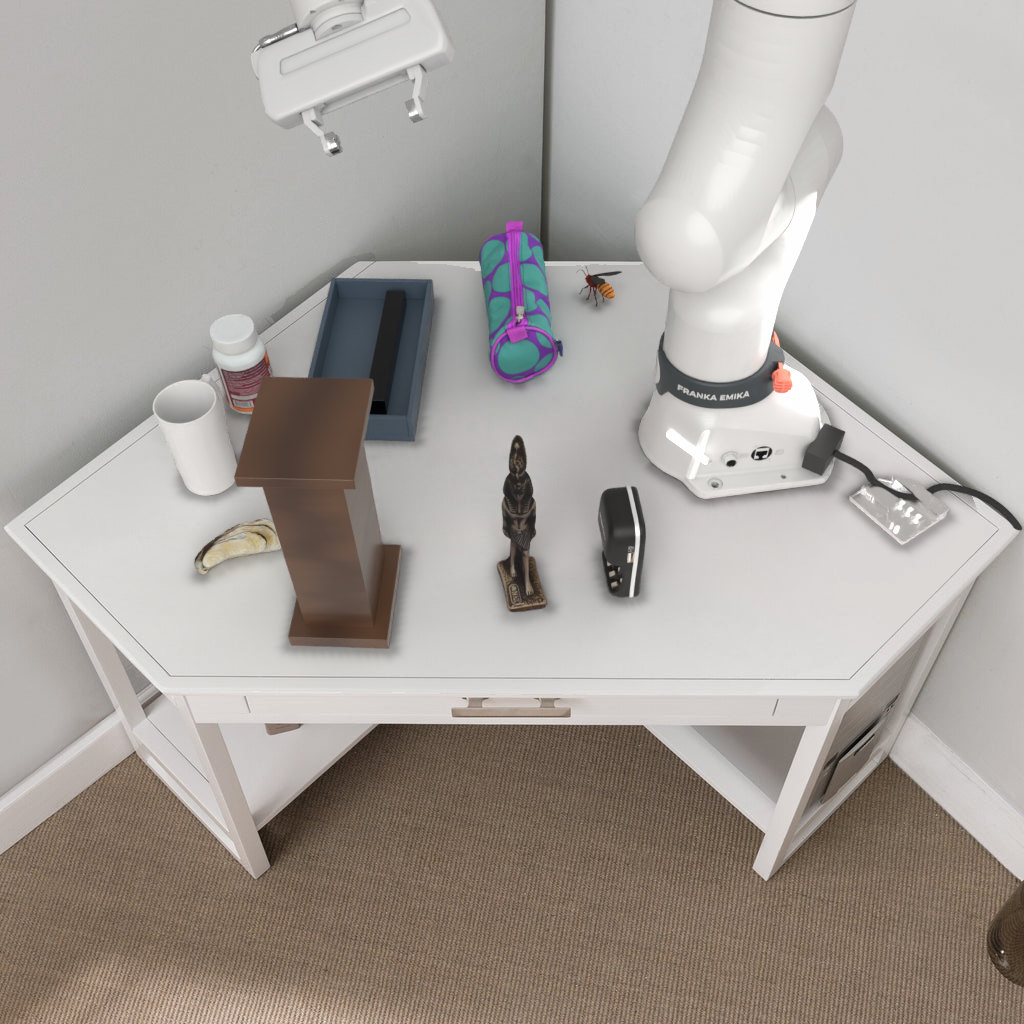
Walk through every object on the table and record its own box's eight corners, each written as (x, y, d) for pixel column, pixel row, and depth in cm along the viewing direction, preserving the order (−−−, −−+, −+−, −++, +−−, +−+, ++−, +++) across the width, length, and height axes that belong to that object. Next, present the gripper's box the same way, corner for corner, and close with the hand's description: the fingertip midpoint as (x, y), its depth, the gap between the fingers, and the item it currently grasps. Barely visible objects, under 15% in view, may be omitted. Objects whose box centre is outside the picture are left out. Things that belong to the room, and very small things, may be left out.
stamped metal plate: (946, 517, 117) (950, 508, 116) (901, 546, 115) (905, 537, 113) (892, 472, 121) (895, 463, 120) (848, 499, 119) (851, 491, 118)
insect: (595, 291, 143) (590, 257, 140) (626, 305, 139) (623, 271, 136) (573, 303, 142) (569, 270, 138) (605, 318, 138) (601, 284, 134)
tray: (434, 301, 141) (432, 279, 138) (414, 441, 126) (411, 419, 123) (335, 300, 142) (331, 277, 139) (303, 439, 126) (297, 416, 123)
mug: (227, 502, 120) (201, 428, 111) (172, 493, 121) (141, 419, 112) (259, 438, 126) (237, 363, 117) (206, 430, 127) (180, 355, 118)
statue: (508, 618, 110) (503, 493, 94) (494, 564, 114) (486, 436, 99) (548, 610, 110) (549, 484, 95) (532, 557, 115) (530, 428, 99)
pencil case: (562, 385, 131) (564, 325, 124) (490, 391, 131) (487, 331, 123) (544, 277, 144) (544, 217, 137) (478, 282, 144) (475, 222, 136)
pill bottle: (288, 398, 131) (270, 327, 122) (246, 424, 128) (225, 354, 119) (258, 373, 133) (238, 303, 125) (217, 398, 131) (194, 328, 122)
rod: (406, 305, 140) (405, 290, 138) (386, 414, 127) (384, 400, 125) (388, 304, 140) (386, 290, 138) (367, 414, 127) (364, 400, 126)
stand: (402, 553, 115) (372, 378, 95) (388, 648, 108) (353, 480, 87) (310, 551, 116) (262, 376, 96) (290, 645, 108) (233, 477, 88)
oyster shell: (235, 589, 118) (298, 529, 116) (228, 602, 114) (293, 540, 113) (193, 553, 116) (257, 491, 115) (186, 565, 113) (251, 502, 111)
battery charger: (593, 549, 115) (597, 480, 106) (628, 546, 115) (635, 477, 106) (603, 603, 111) (608, 535, 102) (639, 599, 111) (648, 532, 102)
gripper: (231, 33, 107) (271, 164, 107) (418, -49, 102) (460, 88, 102) (259, 56, 113) (297, 180, 113) (437, -20, 109) (476, 109, 108)
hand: (376, 136), depth 107 cm, fingers open, 8 cm apart
